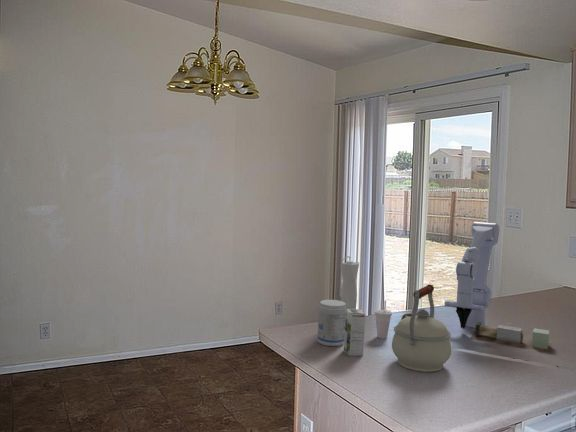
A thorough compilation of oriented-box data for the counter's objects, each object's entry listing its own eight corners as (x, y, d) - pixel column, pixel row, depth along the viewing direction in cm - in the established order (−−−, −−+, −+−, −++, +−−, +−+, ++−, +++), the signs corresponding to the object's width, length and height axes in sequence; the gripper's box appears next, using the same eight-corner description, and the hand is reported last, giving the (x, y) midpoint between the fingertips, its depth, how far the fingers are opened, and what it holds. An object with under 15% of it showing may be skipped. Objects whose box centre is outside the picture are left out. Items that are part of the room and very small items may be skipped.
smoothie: (390, 340, 184) (392, 303, 184) (373, 338, 186) (374, 301, 185) (390, 335, 191) (392, 299, 190) (373, 333, 192) (375, 298, 191)
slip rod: (475, 335, 190) (476, 324, 190) (477, 333, 194) (477, 322, 193) (522, 343, 182) (522, 331, 182) (523, 340, 186) (523, 329, 185)
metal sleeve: (496, 340, 186) (497, 327, 186) (497, 337, 190) (498, 324, 190) (520, 344, 182) (520, 331, 182) (521, 341, 186) (521, 328, 186)
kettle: (439, 381, 146) (444, 297, 144) (380, 367, 155) (384, 288, 154) (460, 358, 167) (464, 284, 165) (406, 347, 176) (410, 277, 175)
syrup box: (343, 350, 171) (344, 308, 170) (360, 350, 171) (361, 308, 171) (346, 356, 165) (348, 312, 164) (363, 356, 166) (365, 313, 165)
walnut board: (469, 341, 187) (469, 338, 187) (474, 333, 198) (474, 331, 198) (550, 354, 174) (550, 352, 174) (551, 346, 185) (551, 343, 185)
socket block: (532, 346, 180) (533, 331, 179) (533, 342, 185) (533, 328, 185) (547, 349, 177) (548, 334, 177) (548, 345, 182) (549, 330, 182)
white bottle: (335, 322, 206) (338, 255, 205) (355, 323, 206) (358, 256, 204) (337, 328, 198) (340, 258, 196) (357, 329, 197) (360, 259, 196)
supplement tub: (313, 339, 182) (315, 299, 181) (337, 338, 185) (339, 298, 184) (324, 348, 173) (325, 306, 172) (348, 346, 176) (350, 304, 175)
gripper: (443, 291, 193) (441, 326, 194) (483, 297, 186) (481, 332, 187) (447, 289, 199) (445, 322, 200) (486, 293, 192) (483, 328, 193)
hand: (463, 327), depth 194 cm, fingers closed
